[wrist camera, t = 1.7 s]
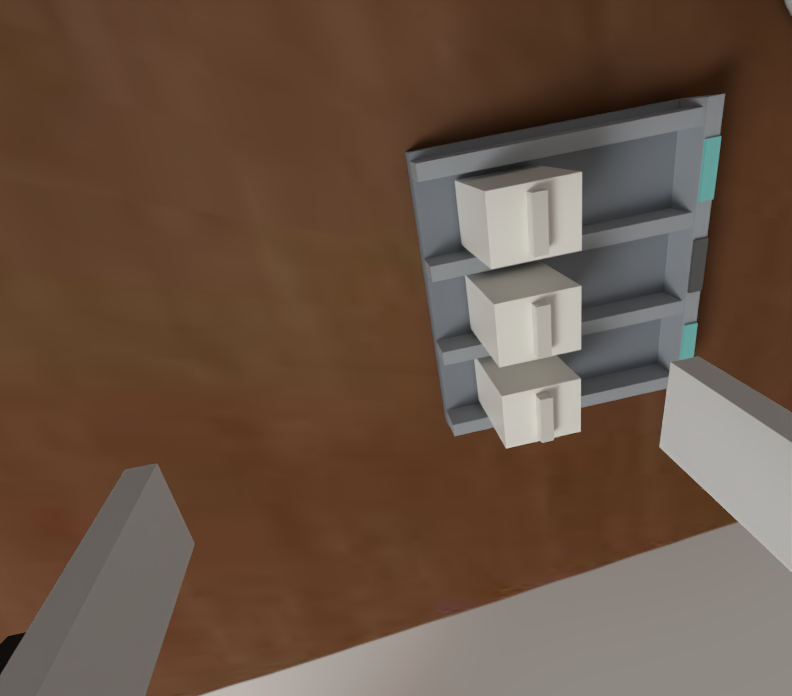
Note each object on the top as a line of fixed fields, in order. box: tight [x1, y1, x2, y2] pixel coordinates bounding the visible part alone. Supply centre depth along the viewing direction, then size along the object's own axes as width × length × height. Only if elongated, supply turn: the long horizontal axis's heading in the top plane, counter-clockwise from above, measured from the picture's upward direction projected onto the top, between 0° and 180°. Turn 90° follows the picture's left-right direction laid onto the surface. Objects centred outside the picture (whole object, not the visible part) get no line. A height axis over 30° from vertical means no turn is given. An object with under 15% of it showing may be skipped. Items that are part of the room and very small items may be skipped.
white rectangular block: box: [455, 165, 582, 269], centre depth 26 cm, size 4×5×7 cm
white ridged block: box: [465, 260, 582, 368], centre depth 29 cm, size 4×5×7 cm
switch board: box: [405, 94, 725, 436], centre depth 31 cm, size 20×18×4 cm
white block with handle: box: [474, 355, 581, 448], centre depth 31 cm, size 4×5×7 cm
